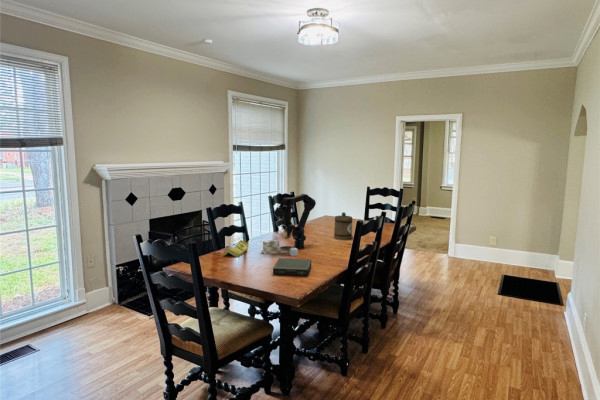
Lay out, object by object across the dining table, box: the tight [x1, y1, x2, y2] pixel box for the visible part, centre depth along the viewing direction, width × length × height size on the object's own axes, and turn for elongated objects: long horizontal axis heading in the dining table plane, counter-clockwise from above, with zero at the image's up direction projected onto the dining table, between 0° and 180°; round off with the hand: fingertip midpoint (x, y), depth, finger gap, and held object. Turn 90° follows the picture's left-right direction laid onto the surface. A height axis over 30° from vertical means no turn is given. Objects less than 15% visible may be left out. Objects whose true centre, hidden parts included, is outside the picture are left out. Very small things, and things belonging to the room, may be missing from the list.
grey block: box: [289, 247, 299, 257], centre depth 261 cm, size 4×4×4 cm
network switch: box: [272, 257, 312, 277], centre depth 227 cm, size 23×24×5 cm
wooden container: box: [333, 211, 353, 241], centre depth 313 cm, size 15×15×22 cm
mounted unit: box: [261, 239, 294, 255], centre depth 269 cm, size 23×8×8 cm, turn 111°
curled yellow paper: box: [223, 239, 250, 258], centre depth 265 cm, size 20×7×10 cm
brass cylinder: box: [283, 229, 291, 240], centre depth 271 cm, size 5×5×6 cm
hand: (287, 236), depth 271 cm, fingers closed on brass cylinder, 5 cm apart
